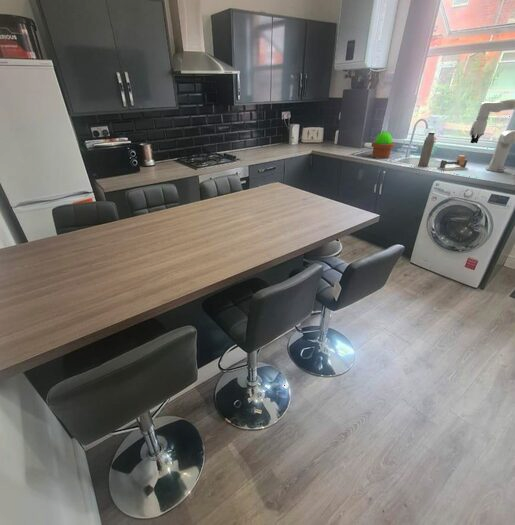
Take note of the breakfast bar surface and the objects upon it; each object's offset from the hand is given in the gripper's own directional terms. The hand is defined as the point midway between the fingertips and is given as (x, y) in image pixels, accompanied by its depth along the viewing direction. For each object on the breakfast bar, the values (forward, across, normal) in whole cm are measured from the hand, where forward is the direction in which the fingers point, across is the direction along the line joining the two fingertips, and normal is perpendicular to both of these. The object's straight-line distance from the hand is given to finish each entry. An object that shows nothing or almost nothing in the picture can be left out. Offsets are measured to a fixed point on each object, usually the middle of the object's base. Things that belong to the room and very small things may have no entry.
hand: (473, 142), depth 249 cm
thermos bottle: (+21, +30, -16) cm, 40 cm away
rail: (+21, +13, 0) cm, 25 cm away
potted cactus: (+21, +46, -64) cm, 82 cm away
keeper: (+18, +7, 0) cm, 20 cm away
